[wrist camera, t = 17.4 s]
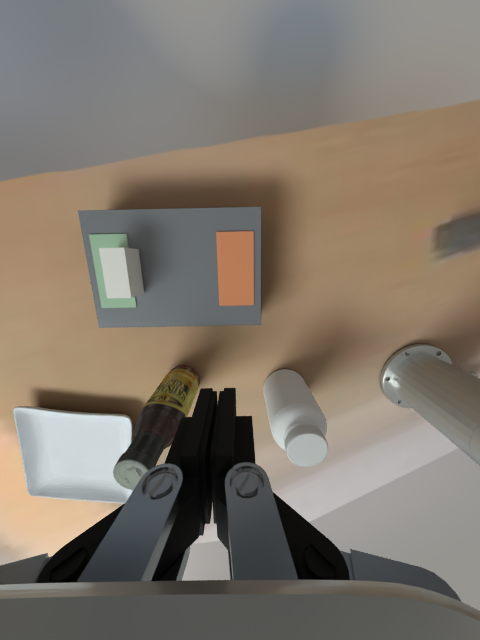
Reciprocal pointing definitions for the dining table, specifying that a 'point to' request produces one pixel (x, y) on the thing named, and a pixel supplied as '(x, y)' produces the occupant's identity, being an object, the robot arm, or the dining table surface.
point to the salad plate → (72, 453)
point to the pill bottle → (295, 418)
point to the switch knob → (121, 272)
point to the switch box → (180, 265)
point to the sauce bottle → (157, 425)
